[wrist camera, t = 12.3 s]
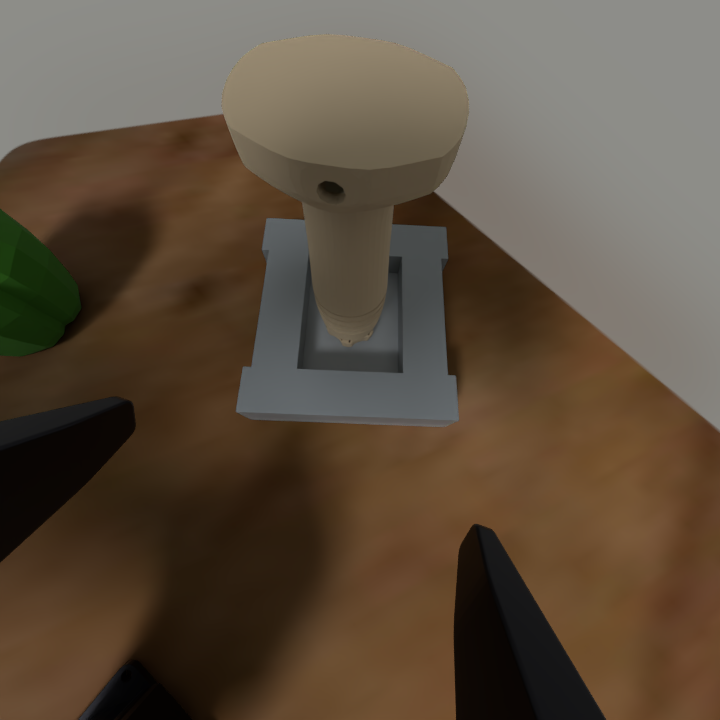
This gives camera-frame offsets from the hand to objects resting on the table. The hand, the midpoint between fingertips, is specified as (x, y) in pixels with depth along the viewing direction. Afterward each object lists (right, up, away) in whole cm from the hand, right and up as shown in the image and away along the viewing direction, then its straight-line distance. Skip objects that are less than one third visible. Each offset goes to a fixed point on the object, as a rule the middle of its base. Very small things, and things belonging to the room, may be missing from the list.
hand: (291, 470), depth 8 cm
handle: (+1, +5, +15) cm, 16 cm away
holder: (+1, +5, +16) cm, 17 cm away
